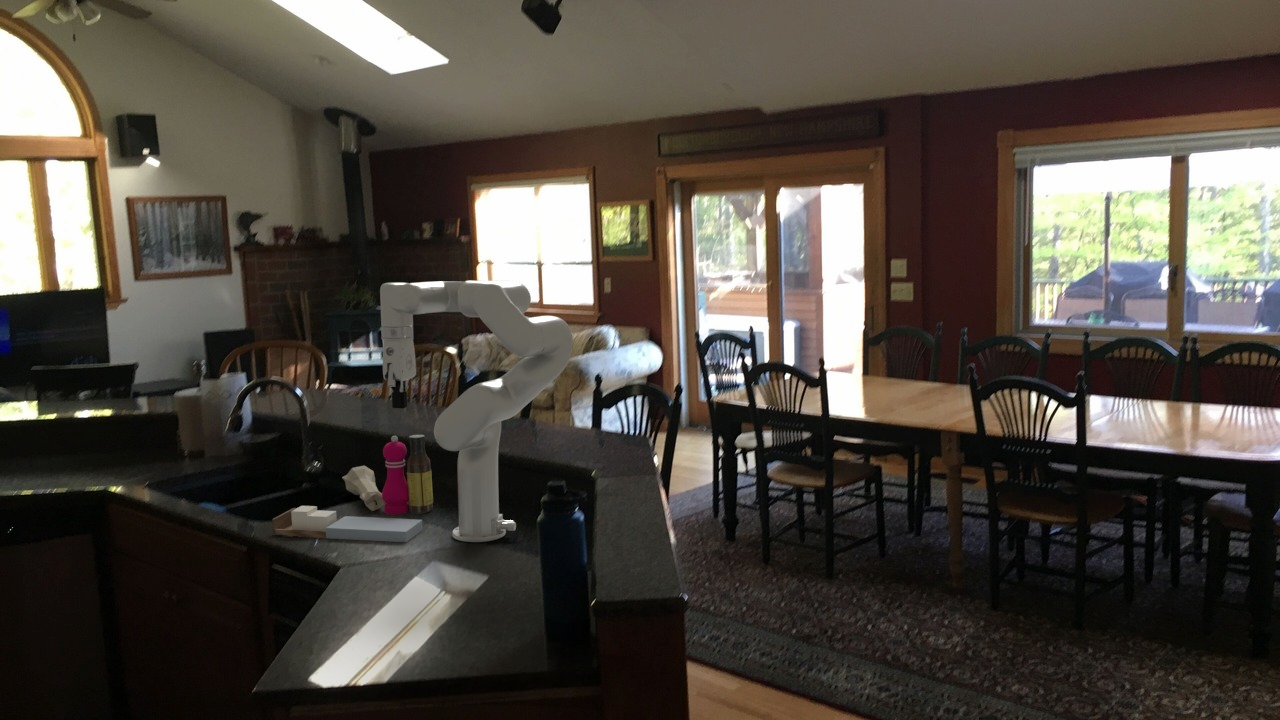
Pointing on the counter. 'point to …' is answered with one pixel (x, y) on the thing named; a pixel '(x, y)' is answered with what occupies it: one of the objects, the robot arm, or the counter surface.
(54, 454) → the counter surface
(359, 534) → the slate bench
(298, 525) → the cream square block
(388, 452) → the pepper mill
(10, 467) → the counter surface
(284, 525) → the walnut box
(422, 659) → the counter surface
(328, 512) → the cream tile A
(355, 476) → the cream faceted tapered piece
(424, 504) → the sauce bottle
